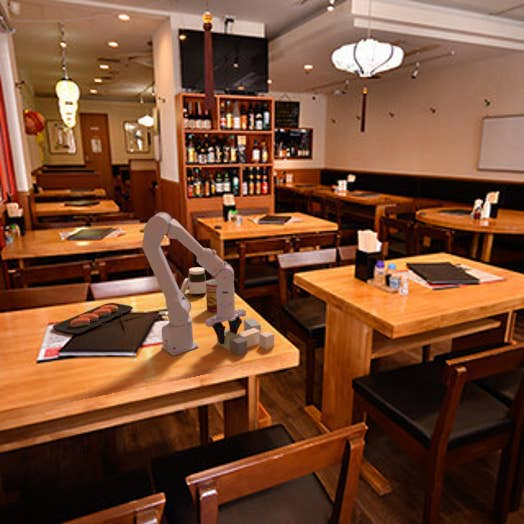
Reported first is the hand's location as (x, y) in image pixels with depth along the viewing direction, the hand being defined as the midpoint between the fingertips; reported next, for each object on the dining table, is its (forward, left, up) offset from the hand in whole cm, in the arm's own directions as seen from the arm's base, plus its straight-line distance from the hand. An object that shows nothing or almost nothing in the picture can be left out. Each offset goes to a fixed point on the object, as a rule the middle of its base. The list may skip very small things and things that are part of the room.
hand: (227, 341), depth 136 cm
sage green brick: (0, 0, -2) cm, 2 cm away
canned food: (+15, +30, -2) cm, 33 cm away
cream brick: (+6, -4, -2) cm, 7 cm away
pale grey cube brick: (+10, -9, -2) cm, 13 cm away
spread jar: (+18, +54, -2) cm, 56 cm away
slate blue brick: (+12, +2, -2) cm, 12 cm away
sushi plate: (-23, +44, -2) cm, 50 cm away
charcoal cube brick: (0, -7, -2) cm, 7 cm away
